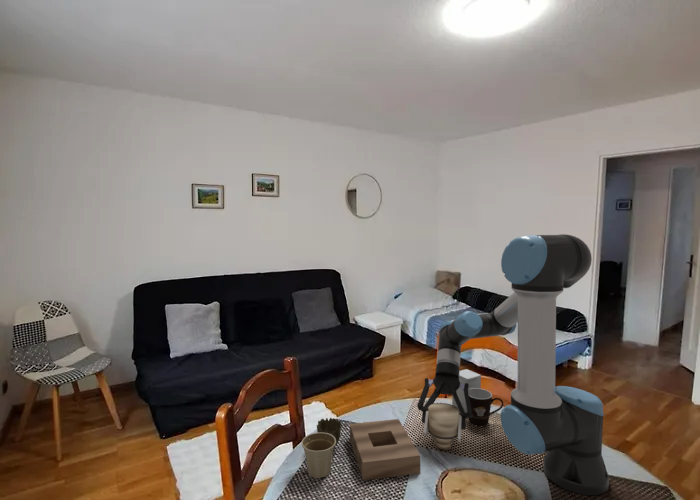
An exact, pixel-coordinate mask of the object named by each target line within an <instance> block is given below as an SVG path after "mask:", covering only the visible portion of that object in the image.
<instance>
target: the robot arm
mask: <svg viewBox="0 0 700 500" xmlns="http://www.w3.org/2000/svg"><path fill="white" fill-rule="evenodd" d="M592 257H593V256H592V253H591V250H590V247H589V246H588V245H587V244H586V243H585V242H584V241H583V240H582V239H581V238H580V237H576V236H574V235H571V234H564V233H563V234H529V235H521V236H518V237H516V238H513V239H512V240H510V242H509V243H508V244H507V245H506V246H505V248H504V250H503V252H502V256H501V259H500V262H501V263H500V265H501V266H500V268H501V271H502V273H503V274H504V278H505V279H506V281H508V282H510V283H511V290H512V291H513V293H512V294H510V295H509V296H508V297H507V298H506V299H505V300H504V301H502V303H501V304H499V305H498V306H497V307H496V308H494V310H492V311H491V312H489V313H482V314H481V313H480V314H478V313H476V312H474V311H472V310H471V311H470V310H466V311H464V312H462V313H461V314H459V315H458V316H457V317H456V318H455V319H454V320H446V321H444V322H442V323H441V324H440V328H439V331H438V344H437V352H436V353H437V355H436V365H435V373H434V374H435V375H434V378H433V379H429V378H427V377H425V378H424V386H423V389H422V391H421V394H420V397H419V400H418V402H417V405H416V406H417V409H418V411H421V412H422V413H421V422H422V424H424V427H423V428H424V430H423V435H424V436H425V437H428V434H429V431H428V407H429V406H430V405H431V404H434V403H436V400H437V398H438V397H439V396H440V395H447V396H451V397H452V396H453V398H454V400H455V402H456V405H457V407H458V410H459V425H458V437H457V442H459V443H462V430H463V431H465V430H466V425H467V424H466V423H467V419H468V418H472V410H471V405H470V400H469V395H468V391H469V384H468V383H465V384H463V383H460V381H459V372H460V371H461V370H460V366H461V353H462V352H461V351H462V345H464V344H465V343H467V342H468V341H469V340H470V341H471V340H472V339H473V340H474V339H482V338H490V337H499V336H506V335H510V334H512V333H514V332H515V330H516V328H517V379H516V380H517V381H516V382H517V383H516V384H517V387H515V388H513V390H512V391H510V404H509V405H508V404H507V405H506V406H505V407H504V406H503V407H504V408H501V409H502V410H501V411H500V424H501V426H502V427H501V428H502V430H503V433H504V434H505V436H506V438H507V439H508V441H509V443H510V444H511V445H512V447H514V448H515V449H516V450H518V451H519V452H520V453H522V454H523V455H528V456H531V455H541V454H543V453H546V454H545V455H544V458H543V463H542V465H543V466H542V469H543V472H544V475H545V476H546V477H547V478H548V479H549V480H550V481H551V482H552V483H554V484H556V485H557V486H559V487H560V488H562V489H564V490H567V491H569V492H572V493H576V494H579V495H584V496H598V495H602V494H604V493H606V492H607V491H608V490H609V485H610V484H609V482H610V477H609V473H608V471H607V467H606V464H605V461H604V458H603V455H602V454H603V453H602V450H603V430H604V429H603V426H604V417H605V414H604V404H603V402H602V400H601V398H599V397H598V396H597V395H595V394H593V393H591V392H588V391H586V390H583V389H580V388H577V387H574V386H573V387H572V386H566V385H558V386H556V356H557V355H556V350H557V349H556V347H557V346H556V343H557V340H556V337H557V336H556V334H557V333H556V332H557V331H556V330H557V298H558V296H559V295H561V294H562V293H563V292H564V289H569V288H571V287H572V286H573V285H575V284H576V283H578V282H579V281H580V280H581V279H582V278H584V277H585V276H586V274H587V273H588V272H589V270H590V268H591V266H592V260H593V259H592ZM432 385H434V386H435V388H434V390H433V392H432V394H431V395H430V397H429V398H428V399H427V396H428V394H429V391H430V387H432ZM459 387H461V388H462V391H464V396H465V402H466V407H467V412H465V411H464V409H463V407H462V404H461V402H460V400H459V398H458V395H457V393H456V391H457V390H458V388H459ZM426 399H427V401H426Z"/></svg>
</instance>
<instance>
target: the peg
mask: <svg viewBox="0 0 700 500" xmlns="http://www.w3.org/2000/svg"><path fill="white" fill-rule="evenodd" d="M459 416H460V412H459V409H458V408H457V407H455V406H453V405H452V403H451V404H450V403H447V402H434V403H433V404H431V405H430V406H429V407H428V434H429V435H431V436H432V437H433V440H434V445H435V447H436V448H438V449H439V450H450V449H451V448H452V446H453V443H454V439H456V438H458V425H459Z"/></svg>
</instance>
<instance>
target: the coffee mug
mask: <svg viewBox="0 0 700 500" xmlns="http://www.w3.org/2000/svg"><path fill="white" fill-rule="evenodd" d="M468 395H469V400H470V405H471V410H472V418H467V419H468V423H469V422H470V423H471V424H470V423H469V424H470V425H472V424H473V425H472V426H474V425H477V426H476V427H478V426H484V427H486V425H487V426H488V425H489V422H490V416H492V415H493V414H495V413H497V412H498V411H500V410H501V409H503V407H504V400H503V399H501V398H500V397H493V393H492V392H491V391H490V390H487V389H484V388H481V389H480V388H470V389H469V391H468ZM496 400H497V401H500V402H501V405H500V407H498V408H497V409H495V410H493V411H491V406H492V404H493V402H494V401H496Z"/></svg>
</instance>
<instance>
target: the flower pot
mask: <svg viewBox="0 0 700 500" xmlns="http://www.w3.org/2000/svg"><path fill="white" fill-rule="evenodd" d="M335 444H336V439H335V437H334V436H333V435H331V434H329V433H322V432H314V433H309V434H308V435H306V436H304V437H303V438H302V440H301V447H302V448H303V451H304V454H305V460H306V466H307V468H306V469H307V472H308V475H309V476H310V477H312V478H313V479H321V478H323V477H324V478H325V477H328V476H329V475H330V473H331V469H332V464H333V463H332V462H333V454H334V450H335V449H334V446H335V447H336V445H337V444H336V445H335ZM333 449H334V450H333Z"/></svg>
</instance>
